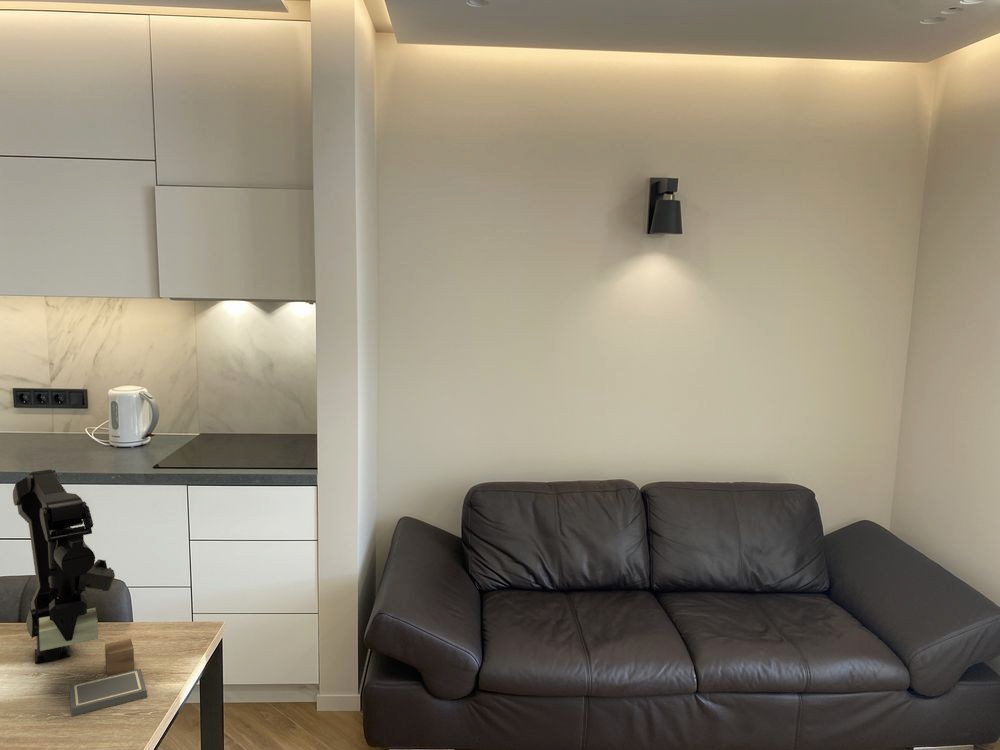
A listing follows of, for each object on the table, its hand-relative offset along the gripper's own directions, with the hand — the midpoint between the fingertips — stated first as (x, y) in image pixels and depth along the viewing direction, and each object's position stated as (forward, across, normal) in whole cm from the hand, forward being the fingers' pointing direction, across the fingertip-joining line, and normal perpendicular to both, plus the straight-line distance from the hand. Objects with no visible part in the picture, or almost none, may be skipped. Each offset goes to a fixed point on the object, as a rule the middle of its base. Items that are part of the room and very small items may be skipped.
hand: (68, 633), depth 145 cm
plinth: (+11, -8, -6) cm, 15 cm away
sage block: (+1, 0, 0) cm, 1 cm away
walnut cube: (+11, +2, -9) cm, 15 cm away
